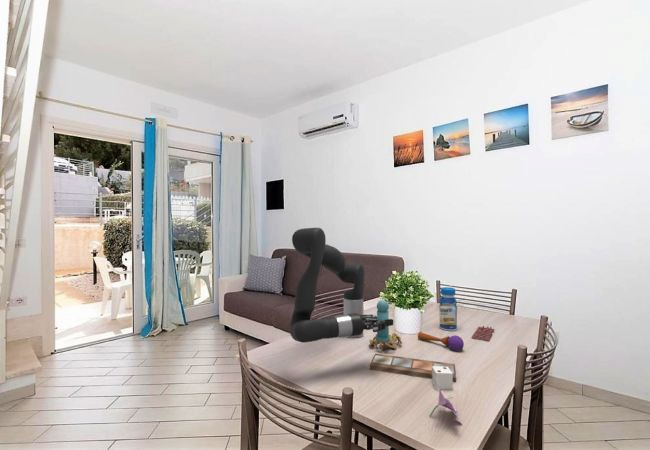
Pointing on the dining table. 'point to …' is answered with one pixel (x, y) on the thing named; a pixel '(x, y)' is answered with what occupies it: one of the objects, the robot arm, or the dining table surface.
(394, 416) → the dining table surface
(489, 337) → the chocolate bar
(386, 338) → the pawn
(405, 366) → the board
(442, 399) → the lily
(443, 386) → the die
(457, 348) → the kendama
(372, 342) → the crab model
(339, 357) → the dining table surface
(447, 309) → the beverage bottle
